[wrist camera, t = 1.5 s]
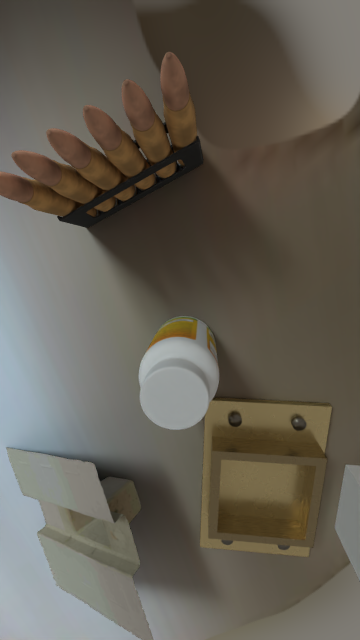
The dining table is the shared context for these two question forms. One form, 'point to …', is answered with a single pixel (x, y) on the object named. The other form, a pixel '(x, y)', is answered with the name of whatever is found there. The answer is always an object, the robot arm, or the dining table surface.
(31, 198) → the ammunition clip
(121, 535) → the grey tablet stand
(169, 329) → the supplement bottle
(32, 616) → the dining table surface
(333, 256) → the dining table surface
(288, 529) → the wooden holder tray
